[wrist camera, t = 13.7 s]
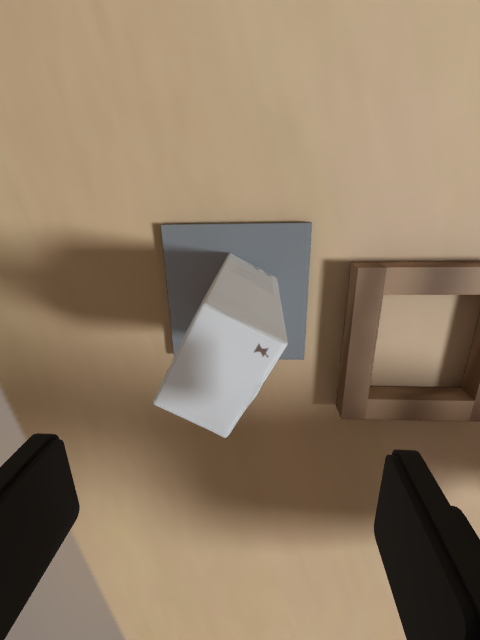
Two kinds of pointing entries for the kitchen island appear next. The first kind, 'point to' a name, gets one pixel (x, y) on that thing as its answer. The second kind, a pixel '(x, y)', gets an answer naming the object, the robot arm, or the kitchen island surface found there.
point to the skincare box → (226, 349)
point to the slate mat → (249, 245)
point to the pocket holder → (361, 334)
